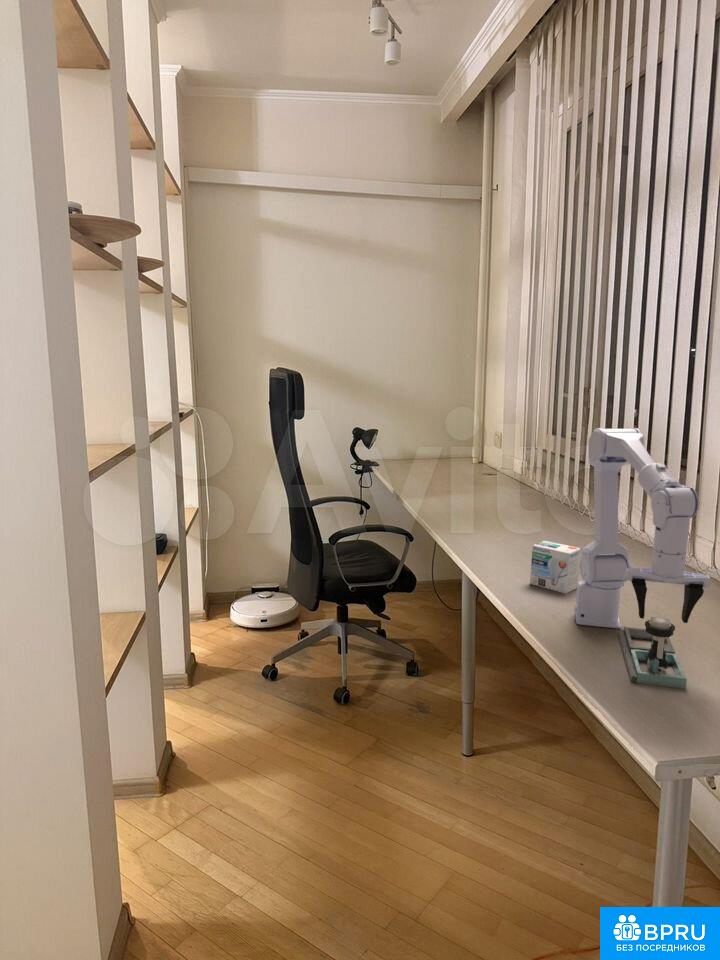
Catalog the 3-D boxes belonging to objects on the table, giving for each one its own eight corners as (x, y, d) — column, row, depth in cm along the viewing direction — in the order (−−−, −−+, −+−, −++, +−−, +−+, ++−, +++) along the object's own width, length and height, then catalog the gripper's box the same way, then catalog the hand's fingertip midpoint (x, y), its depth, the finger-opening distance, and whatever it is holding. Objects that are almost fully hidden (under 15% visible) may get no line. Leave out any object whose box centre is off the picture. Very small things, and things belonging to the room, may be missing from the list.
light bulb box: (528, 584, 183) (531, 544, 181) (541, 578, 188) (544, 539, 186) (566, 594, 176) (569, 553, 174) (578, 587, 181) (581, 547, 179)
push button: (677, 679, 131) (682, 629, 130) (648, 677, 132) (652, 627, 130) (664, 663, 138) (669, 615, 136) (637, 662, 138) (641, 614, 136)
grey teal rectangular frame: (631, 682, 130) (631, 672, 129) (618, 635, 151) (619, 626, 151) (685, 688, 128) (686, 678, 127) (665, 640, 149) (666, 631, 149)
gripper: (631, 553, 129) (624, 622, 131) (716, 560, 125) (708, 631, 128) (626, 542, 136) (620, 608, 138) (708, 549, 132) (700, 617, 135)
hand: (662, 618), depth 133 cm, fingers open, 7 cm apart
